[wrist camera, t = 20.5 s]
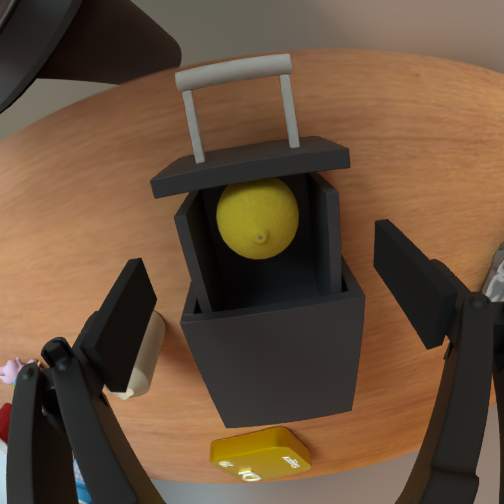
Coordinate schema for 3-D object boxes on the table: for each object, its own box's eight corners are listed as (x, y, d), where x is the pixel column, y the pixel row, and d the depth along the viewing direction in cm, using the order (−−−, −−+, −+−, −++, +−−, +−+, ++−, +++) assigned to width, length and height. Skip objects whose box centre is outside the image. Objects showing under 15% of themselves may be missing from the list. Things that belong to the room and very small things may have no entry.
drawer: (163, 87, 21) (127, 79, 14) (307, 63, 20) (334, 44, 13) (212, 295, 29) (203, 352, 22) (328, 277, 29) (351, 330, 22)
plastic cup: (14, 399, 44) (-4, 438, 33) (38, 426, 49) (23, 462, 38) (-10, 391, 44) (-28, 425, 34) (13, 417, 49) (-2, 449, 39)
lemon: (302, 206, 24) (325, 250, 17) (245, 240, 26) (245, 295, 18) (266, 150, 22) (276, 170, 15) (207, 188, 23) (190, 225, 16)
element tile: (311, 451, 49) (314, 471, 44) (245, 466, 52) (245, 485, 47) (283, 423, 43) (286, 447, 38) (206, 441, 45) (204, 463, 41)
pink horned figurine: (38, 344, 37) (-9, 356, 36) (26, 369, 31) (-21, 377, 31) (59, 371, 39) (10, 380, 39) (50, 397, 34) (1, 401, 33)
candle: (162, 306, 31) (139, 376, 22) (169, 342, 34) (151, 410, 25) (117, 302, 31) (84, 367, 22) (127, 338, 33) (101, 402, 25)
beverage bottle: (94, 438, 48) (73, 513, 30) (119, 455, 52) (104, 526, 34) (72, 438, 49) (51, 505, 32) (97, 455, 53) (81, 519, 35)
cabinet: (197, 256, 29) (179, 323, 20) (330, 236, 28) (365, 295, 19) (229, 361, 35) (226, 428, 26) (332, 346, 34) (351, 410, 26)
